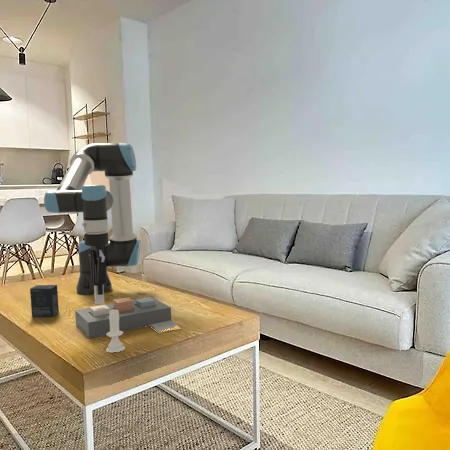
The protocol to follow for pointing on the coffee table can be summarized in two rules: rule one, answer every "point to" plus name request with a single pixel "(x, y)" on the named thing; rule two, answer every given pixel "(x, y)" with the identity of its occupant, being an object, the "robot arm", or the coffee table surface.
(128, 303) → the terracotta key
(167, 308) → the key panel
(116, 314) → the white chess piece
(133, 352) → the coffee table surface
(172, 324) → the smartphone
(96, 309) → the ivory key
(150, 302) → the slate key
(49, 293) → the box
